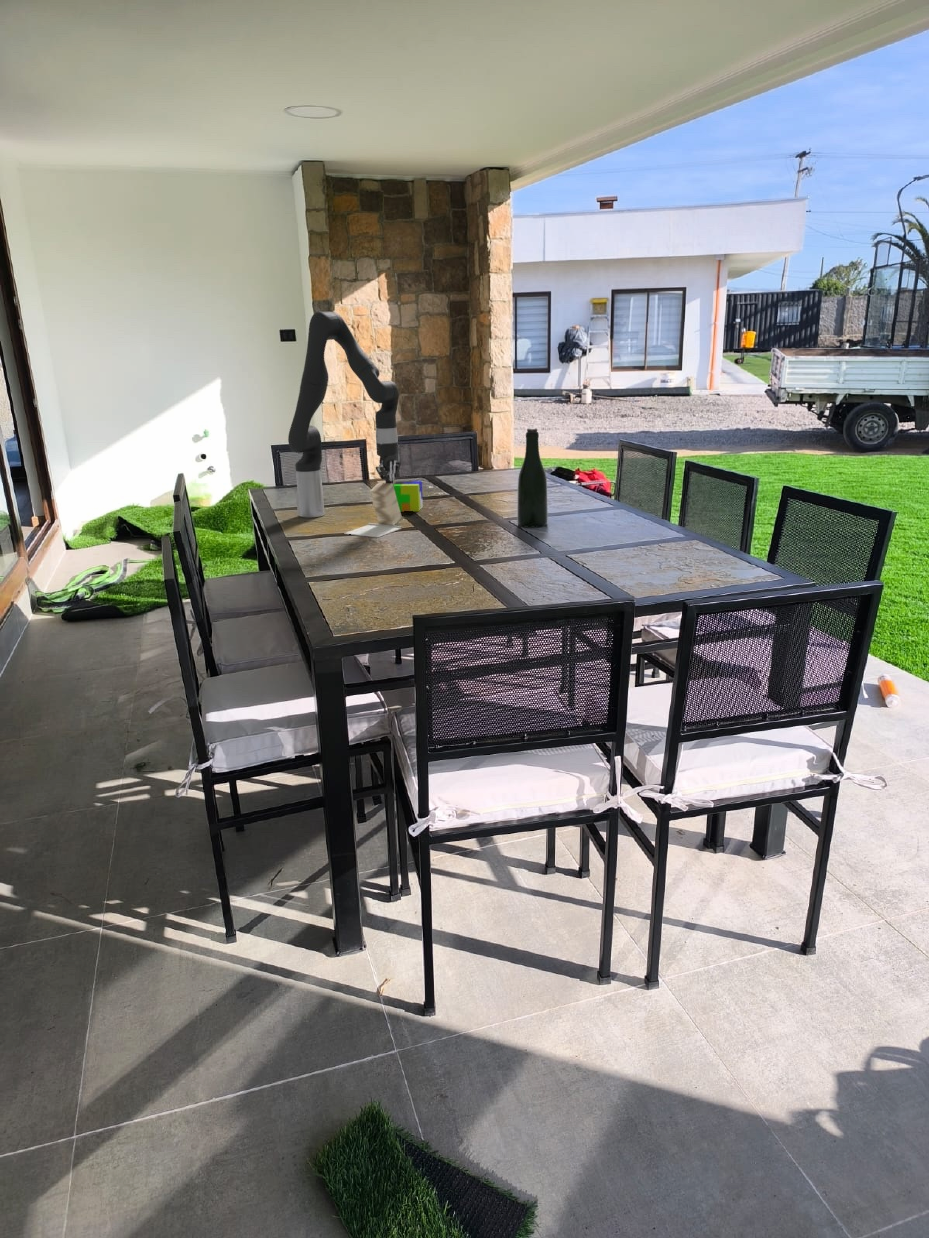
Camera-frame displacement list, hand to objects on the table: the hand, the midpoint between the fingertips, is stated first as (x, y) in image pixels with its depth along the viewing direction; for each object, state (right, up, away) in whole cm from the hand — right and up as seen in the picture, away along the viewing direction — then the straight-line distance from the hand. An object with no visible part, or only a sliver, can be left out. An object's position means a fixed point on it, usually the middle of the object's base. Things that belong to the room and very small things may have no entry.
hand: (389, 491), depth 295 cm
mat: (-5, -15, -5) cm, 16 cm away
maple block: (0, -11, +3) cm, 11 cm away
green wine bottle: (+50, -13, -3) cm, 52 cm away
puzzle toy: (+4, -3, +31) cm, 31 cm away
